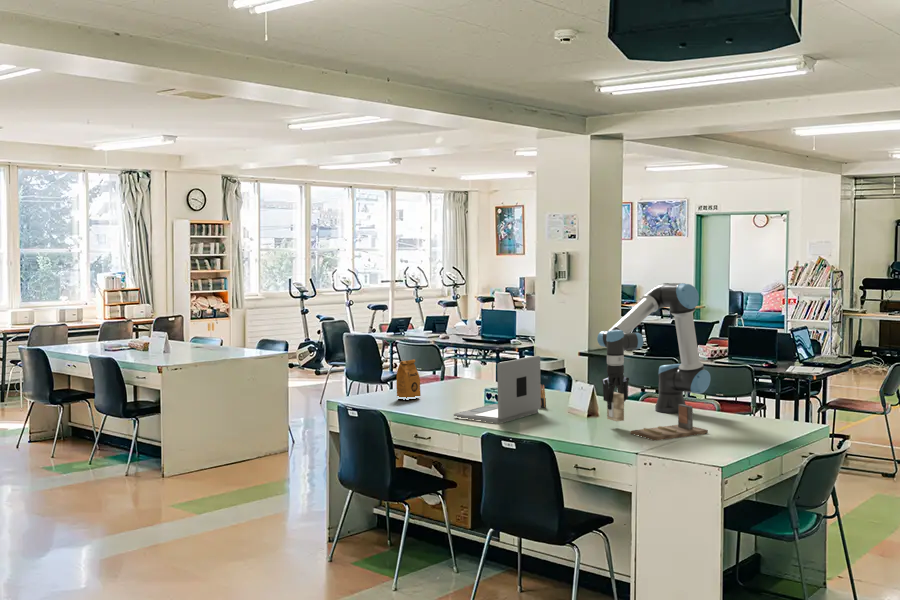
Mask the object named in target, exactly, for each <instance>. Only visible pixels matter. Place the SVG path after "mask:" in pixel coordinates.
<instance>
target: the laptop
mask: <svg viewBox="0 0 900 600" xmlns="http://www.w3.org/2000/svg"><path fill="white" fill-rule="evenodd" d="M496 370H497V375H496V376H497V403H493V404H488V405H485V406H482V407H476V408H472V409H468V410H465V411H460V412H455V413H454V414H453V417H454V416H457V417H461V418H468V419H474V420H481V421H486V422H493V423H492V424H494V423H500V424H502V423H501V422H504V423H506V421H507V422H511V421H514V420H517V419H521V418H523V417H528V416H531V415H534V414H538V413H539V410H540V409H542V408H541V386H542V384H541V382H542V381H541V356H540V355H534V356H528V357H523V358H516V359H512V360H507V361H501V362H498V363H497V367H496ZM510 420H511V421H510ZM486 422H485V423H486Z"/></svg>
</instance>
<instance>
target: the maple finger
mask: <svg viewBox="0 0 900 600" xmlns="http://www.w3.org/2000/svg"><path fill="white" fill-rule="evenodd" d="M612 402H613V403H614V417H610V416H609V409H608V407H607V406H606V414H607V415H606V419H607V420H610V421H614V422H623V421H625V402H624V394H622V393H618V391H614V394H613V399H612Z"/></svg>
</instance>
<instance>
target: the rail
mask: <svg viewBox="0 0 900 600" xmlns="http://www.w3.org/2000/svg"><path fill="white" fill-rule="evenodd" d="M693 415H694V413H693V406H692V405H687V404H686V405H683V404H680V405H678V413H677V418H678V420H677V421H678V422H677V424H673V425H665V426H661V425H658V426H656V427H650V428H648V427H643V429H632V430H630V435H632V434H635V435H634V436H636V435H639V436H638V437H640V436H642V437H641V438H643V437H646V438H645V439H647V438H649V439H648V440H650V439H652V441H654V440H656V441H662V440H661V439H663V440H669V439H679V438H685V437H691V436H690V435H693V436H698V435H697V434H700V435H706V434H705V433H708V434H709V431H708V429H706V428H701V427H696V426H694V425H693V423H694V419H693V418H694V416H693Z"/></svg>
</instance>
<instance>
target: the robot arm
mask: <svg viewBox="0 0 900 600" xmlns="http://www.w3.org/2000/svg"><path fill="white" fill-rule="evenodd" d="M699 301H700V297H699V292H698V290H697V288H696V287H695V286H693V284H690V283H686V282H685V283H684V282H682V283H681V282H679V283H676V282H675V283H674V282H673V283H668V282H663V283H661V284H658V285H656V286H654V287H653V288H651V289H650V290H647V292H646V293H645V294H643V296H641V299H640V301H639V302H638V303H637V304H636V305H635V306H633V307H632V308H631V309H630V310H629V311H628V312H627V313H626V314H625V315H624V316H622V318H620V319H619V320H618V321H617V322H616V323H615V324H614V325H612V326H611V328H609V329H608V330H602V331H600V332H599V333H598V335H597V344H598V345H599V346H600V347H603V348H606V364H607V366H606V373H607V376H606V378H603V379H601V382H602V392H603V394H602V395H603V397H602V398H603V401H604V402H606V408H607V407H608V409H609V416H610V417H614V403H613V402H612V399H613V394H614V392H615V388H616V390H617V393H622V394H624V403H625V402H626V400H628V399H629V381H630V377H627V376H625V375H624V373H625V366H624V363H625V359H624V358H625V356H624V355H625V351H630V350H631V351H633V350H639V349H641V348H642V347H643V345H644V337H643V335H642V334H641V333H640V332H634V331H633V330H634V329H635V328H636V327H638V326H639V325H640V324H641V323H642V322H643V321H644V320H645V319H646V318H647V317H649V315H650V314H652V313H655V312H657V311H658V310H659V309H662V308H669V313H670V315H672V316H673V317H674V324H675V329H676V330H675V331H676V336H677V343H678V351H679V357H680V363H673V364H672V363H671V364H663V365H660V366H659V368H658V373H657V375H658V396H657V400H656V404H655V407H654V408H655V409H654V410H655V411H656V412H658V413H666V414H678V405H680V404H683V405H687V404H686V401H685V398H684V392H685V393H691V394H703V393H705V392H706V391H707V390H708V388H709V386H710V384H711V374H710V372H709V371H708V370H706V369H705V367H704V363H703V362H702V361H700V356H699V348H698V342H697V335H696V327H695V321H694V315H693V314H694V312H695V311H696V307H697V306H698V304H699ZM632 331H633V332H632Z"/></svg>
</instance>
